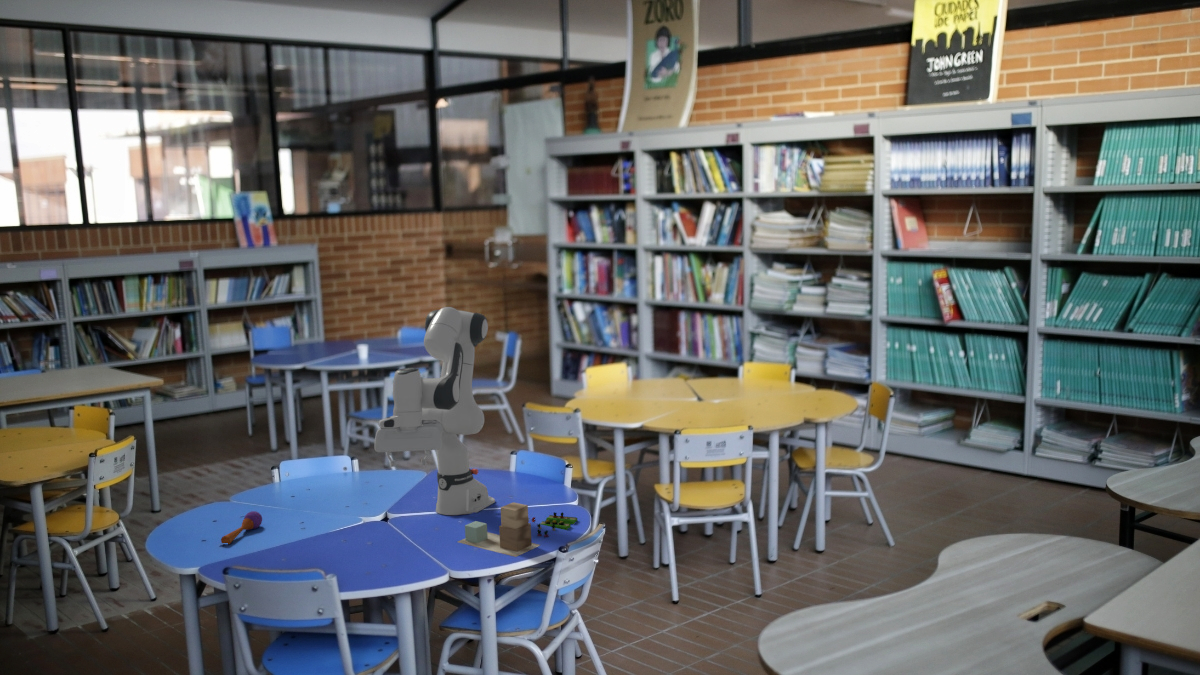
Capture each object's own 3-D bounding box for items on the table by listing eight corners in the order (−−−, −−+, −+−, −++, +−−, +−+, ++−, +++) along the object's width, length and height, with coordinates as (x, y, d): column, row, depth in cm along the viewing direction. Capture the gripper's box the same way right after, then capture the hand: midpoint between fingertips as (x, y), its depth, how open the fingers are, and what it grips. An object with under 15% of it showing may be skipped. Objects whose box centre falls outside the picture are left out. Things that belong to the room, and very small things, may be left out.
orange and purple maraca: (215, 533, 321) (247, 509, 340) (220, 550, 322) (252, 525, 341) (230, 531, 319) (262, 507, 338) (236, 548, 320) (267, 523, 339)
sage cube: (476, 535, 317) (475, 520, 317) (487, 538, 315) (486, 523, 314) (465, 540, 313) (464, 525, 313) (476, 543, 311) (476, 528, 310)
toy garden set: (552, 545, 312) (551, 531, 312) (497, 540, 319) (497, 526, 318) (577, 522, 334) (577, 509, 333) (526, 517, 340) (525, 505, 339)
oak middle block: (514, 520, 310) (513, 502, 309) (528, 523, 306) (527, 505, 306) (501, 525, 305) (500, 507, 304) (515, 529, 302) (515, 510, 301)
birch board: (482, 535, 322) (482, 530, 322) (541, 549, 307) (540, 544, 307) (456, 546, 313) (456, 541, 312) (515, 561, 298) (515, 556, 298)
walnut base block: (514, 540, 312) (513, 519, 311) (531, 544, 307) (530, 523, 306) (500, 547, 306) (499, 526, 305) (517, 551, 302) (516, 530, 301)
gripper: (440, 419, 306) (441, 463, 306) (373, 421, 301) (374, 466, 300) (443, 420, 300) (443, 465, 300) (374, 422, 295) (375, 468, 294)
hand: (408, 465), depth 300 cm, fingers open, 8 cm apart
